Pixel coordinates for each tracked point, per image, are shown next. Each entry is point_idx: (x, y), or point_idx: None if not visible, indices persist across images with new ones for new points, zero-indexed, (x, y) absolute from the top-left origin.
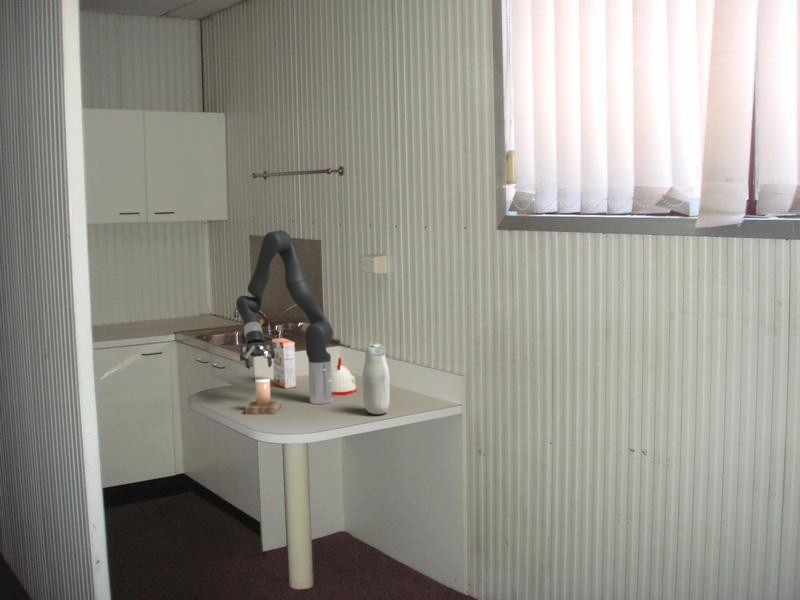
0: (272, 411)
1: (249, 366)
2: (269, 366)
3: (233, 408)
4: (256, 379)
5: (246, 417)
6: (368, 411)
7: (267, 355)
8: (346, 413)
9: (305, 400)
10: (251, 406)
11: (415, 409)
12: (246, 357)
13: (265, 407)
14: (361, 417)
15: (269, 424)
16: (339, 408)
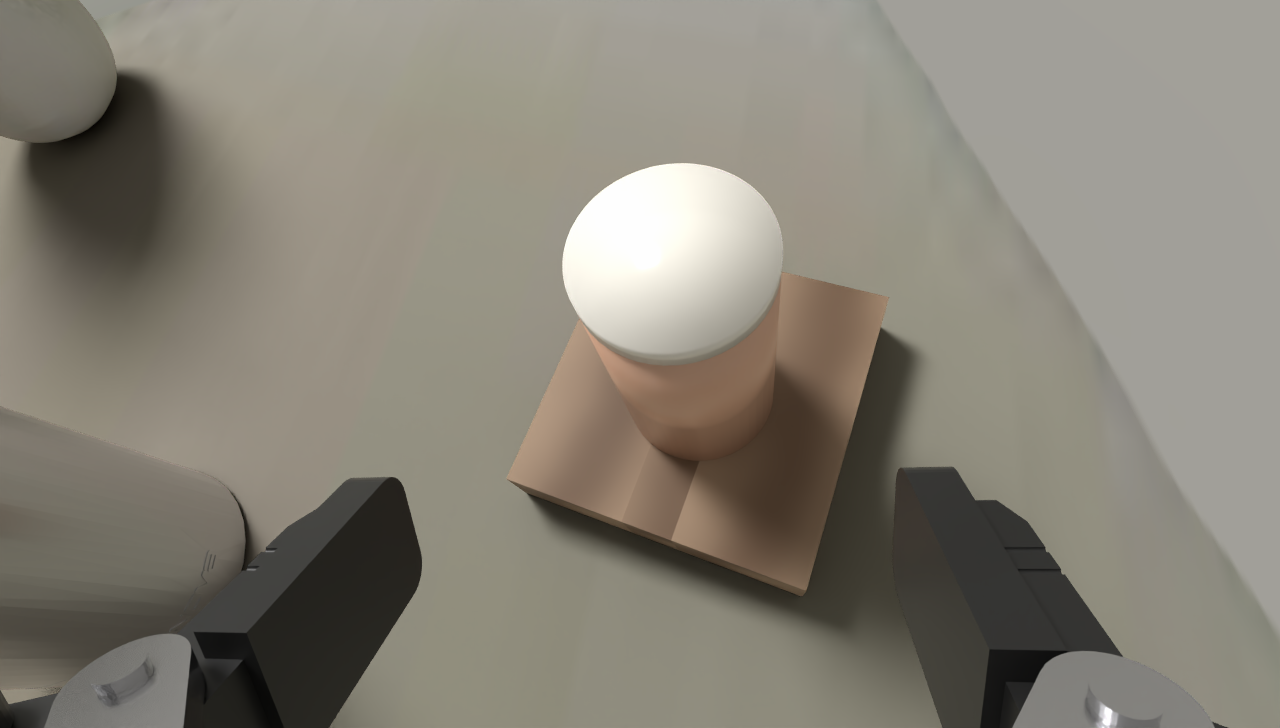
0: None
1: (904, 472)
2: (400, 534)
3: None
4: (756, 310)
5: (874, 223)
6: (116, 77)
7: (187, 686)
8: (206, 160)
9: None
10: (826, 341)
11: None
12: (1117, 678)
13: None
14: (192, 63)
15: (723, 22)
16: (166, 295)
